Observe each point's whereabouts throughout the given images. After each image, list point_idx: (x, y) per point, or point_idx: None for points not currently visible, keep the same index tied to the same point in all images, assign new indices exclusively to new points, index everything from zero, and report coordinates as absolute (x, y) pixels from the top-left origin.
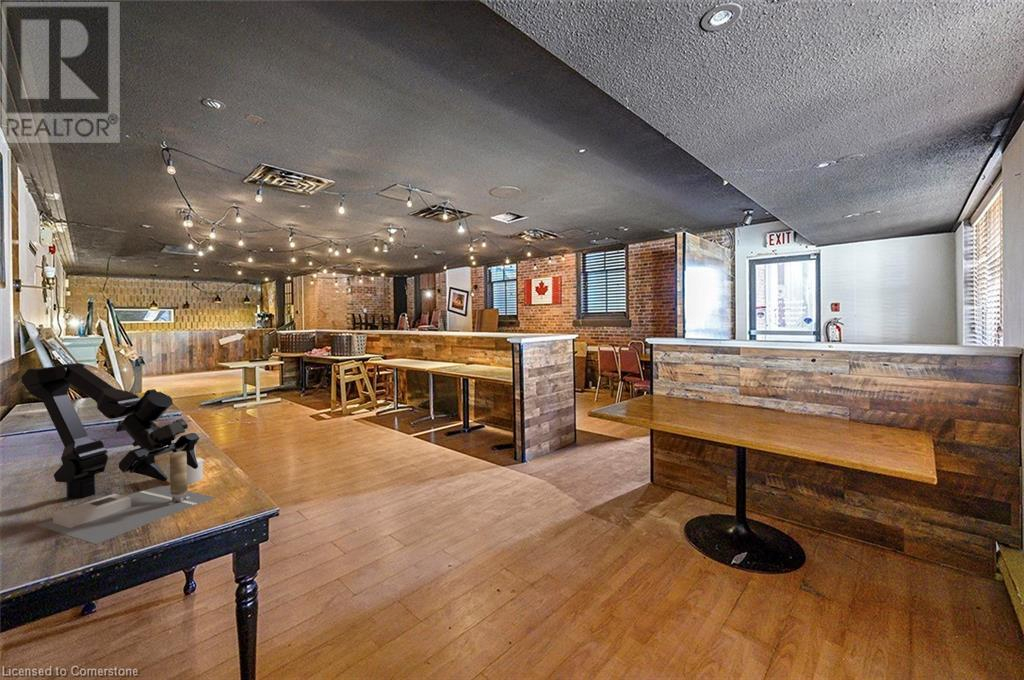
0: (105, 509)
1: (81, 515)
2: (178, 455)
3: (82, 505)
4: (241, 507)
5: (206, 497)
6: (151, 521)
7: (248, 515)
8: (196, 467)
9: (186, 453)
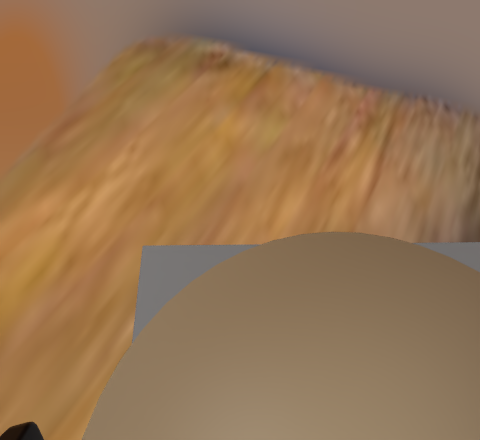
0: None
1: None
2: (435, 269)
3: None
4: (163, 105)
5: (159, 293)
6: (460, 252)
7: (207, 40)
8: (37, 433)
9: (163, 322)
